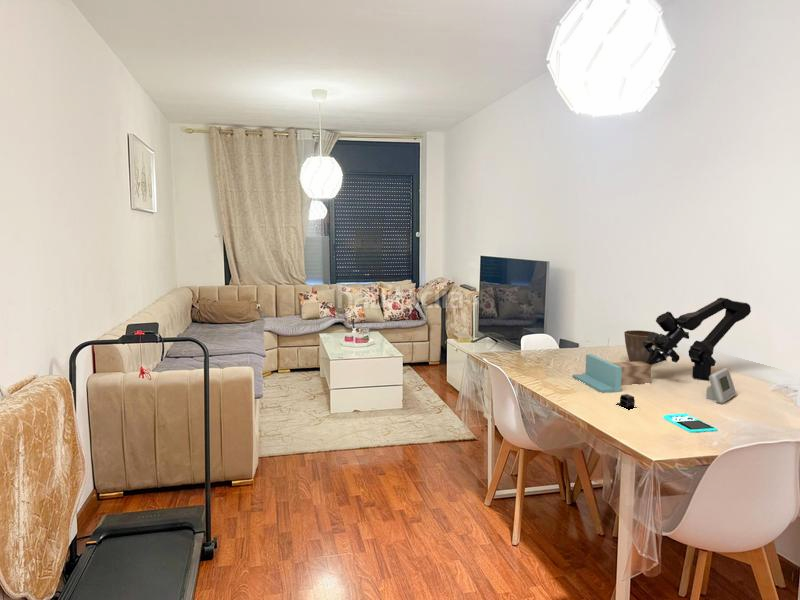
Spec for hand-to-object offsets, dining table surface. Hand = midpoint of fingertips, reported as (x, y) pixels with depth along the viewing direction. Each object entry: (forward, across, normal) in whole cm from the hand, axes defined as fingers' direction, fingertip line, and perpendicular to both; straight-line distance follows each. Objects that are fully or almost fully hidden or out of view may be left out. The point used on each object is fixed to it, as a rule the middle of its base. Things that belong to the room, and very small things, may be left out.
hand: (646, 365), depth 241 cm
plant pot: (-4, -23, +14) cm, 27 cm away
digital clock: (-4, +28, +14) cm, 32 cm away
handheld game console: (+18, +50, -7) cm, 53 cm away
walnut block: (+11, 0, -1) cm, 11 cm away
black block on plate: (+24, +30, -14) cm, 41 cm away
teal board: (+21, 0, -11) cm, 24 cm away
